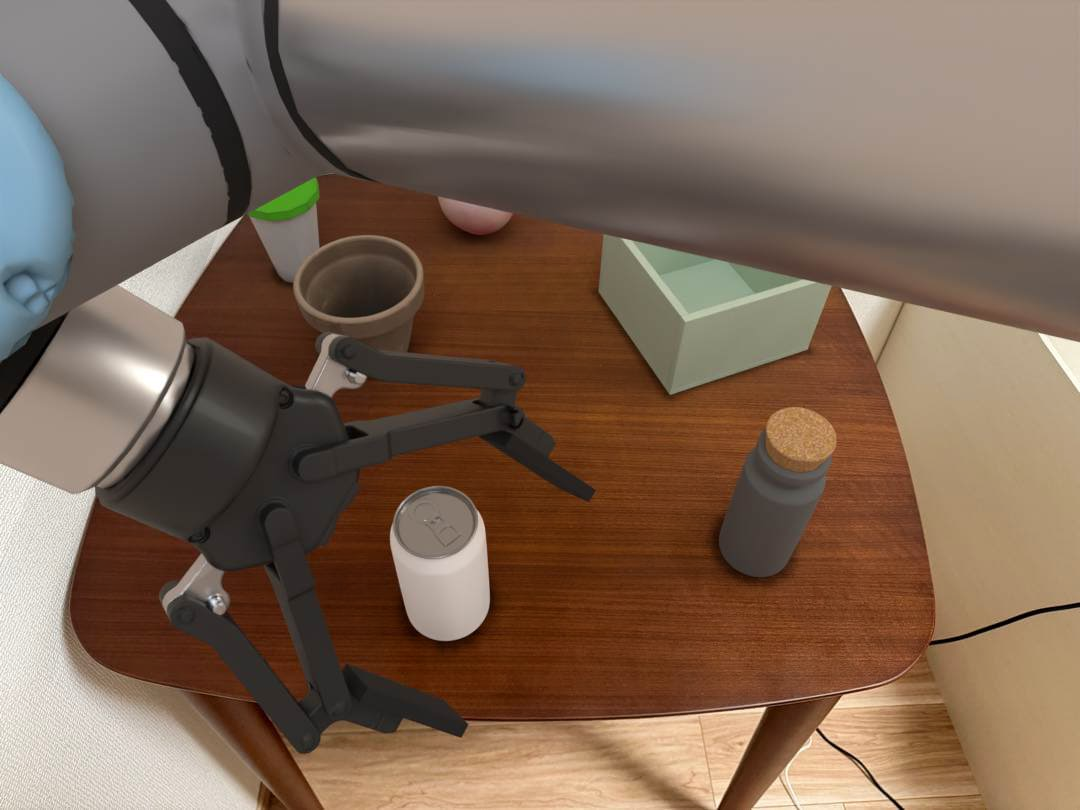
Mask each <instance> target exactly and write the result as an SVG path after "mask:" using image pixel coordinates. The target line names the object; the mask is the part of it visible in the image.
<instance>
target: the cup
mask: <svg viewBox="0 0 1080 810" xmlns="http://www.w3.org/2000/svg"><path fill="white" fill-rule="evenodd" d="M319 200H320V186H319V181H318V177H316V178H313V179H311V180H309V181H307V182H306V183H304V184H302V185H300V186H298V187H296V188H294V189H293V190H291V191H289V192H287V193H285V194H283V195H282V196H280V197H278V198H276V199H274V200H272V201H270V202H269V203H267V204H265V205H263V206H261V207H259V208H258V209H256V210H254V211H252V212H250V213H248V214H247V215H248V217H249V219H250V221H251V223H252V226H253V227H254V229H255V231H256V232H257V233H256V234H257V235H258V237H259V239H260V241H261V242H262V245H263V247H264V249H265V251H266V253H267V256H268V257H269V259H270V261H271V263H272V265H273V267H274V269H275V271H276V273H277V275H278V276H279V278H280V279H282V280H283V282H285V283H291V284H293V282H294V277H295V274H296V272H297V270H298V268H299V267H300V265H301V264H302V262H303V261H304V260H305V259H306V258H307V257H308V256H309V255H311V254H312V253H313V252H314V251H316V250H317V249H319V248H321V247H320V237H319V236H320V235H319V224H318V210H317V202H318V201H319Z"/></svg>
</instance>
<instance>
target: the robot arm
mask: <svg viewBox="0 0 1080 810" xmlns="http://www.w3.org/2000/svg"><path fill="white" fill-rule="evenodd" d="M332 174H333V175H337V176H341V177H346V178H350V179H354V180H359V181H367V182H373V183H376V184H377V183H378V184H382V185H387V186H390V187H394V188H400V189H404V190H408V191H413V192H417V193H421V194H425V195H431V196H434V197H437V198H438V197H443V198H447V199H452V200H456V201H460V202H465V203H469V204H474V205H478V206H482V207H487V208H491V209H496V210H500V211H504V212H509V213H513V215H518V216H522V217H526V218H532V219H536V220H540V221H544V222H548V223H553V224H557V225H562V226H566V227H571V228H575V229H580V230H584V231H589V232H593V233H598V234H601V235H604V234H606V235H610V236H614V237H619V238H623V239H628V240H632V241H636V242H641V243H645V244H650V245H654V246H658V247H663V248H667V249H671V250H676V251H680V252H685V253H689V254H693V255H698V256H702V257H707V258H711V259H715V260H720V261H724V262H729V263H733V264H737V265H742V266H746V267H751V268H755V269H759V270H764V271H768V272H773V273H777V274H781V275H786V276H790V277H795V278H799V279H803V280H808V281H812V282H817V283H821V284H825V285H830V286H831V287H834V288H839V289H843V290H848V291H851V292H857V293H861V294H865V295H870V296H874V297H879V298H883V299H887V300H892V301H896V302H900V303H904V304H909V305H913V306H917V307H923V308H927V309H932V310H935V311H941V312H944V313H949V314H953V315H957V316H962V317H967V318H971V319H975V320H980V321H984V322H988V323H993V324H996V325H1002V326H1006V327H1011V328H1015V329H1019V330H1023V331H1028V332H1033V333H1037V334H1042V335H1046V336H1049V337H1050V336H1051V337H1053V338H1054V337H1055V338H1057V339H1059V338H1060V339H1063V340H1068V341H1072V342H1077V343H1080V0H0V464H1V465H3V466H6V467H8V468H10V469H12V470H14V471H17V472H19V473H21V474H24V475H26V476H28V477H31V478H33V479H36V480H38V481H41V482H42V483H45V484H47V485H49V486H51V487H55V488H56V489H58V490H61V491H64V492H66V493H69V494H71V495H78V494H81V493H84V492H86V491H89V490H91V489H93V488H94V492H95V496H96V498H97V499H98V501H99V504H100V506H101V507H103V508H106V509H107V510H109V511H110V510H111V511H112V512H115V513H117V514H119V515H122V516H124V517H127V518H129V519H131V520H133V521H136V522H139V523H141V524H143V525H146V526H148V527H150V528H153V529H155V530H157V531H159V532H162V533H165V534H167V535H168V536H172V537H174V538H176V539H179V540H181V541H183V542H186V543H188V544H189V545H192V546H193V547H194V548H195V549H197V550H198V551H199V552H200V554H199V555H198V557H197V558H196V559H195V560H194V562H193V563H192V565H191V566H190V567H189V569H188V570H187V571H186V572H185V574H184V575H183V576H182V577H181V579H180V580H178V579H177V580H171V581H168V582H167V583H165V584H164V585H163V586H162V587H161V588H160V590H159V593H158V599H159V602H160V604H161V606H162V608H163V610H164V613H165V614H166V616H167V618H168V620H169V623H170V624H171V626H172V627H174V628H175V629H177V630H179V631H180V632H183V633H185V634H186V635H189V636H191V637H192V638H195V639H196V640H198V641H200V642H202V643H204V644H207V645H208V646H210V647H211V648H212V650H214V652H215V653H216V654H217V655H218V656H219V658H220V659H221V660H222V662H224V664H225V665H226V666H227V667H228V668H229V670H230V671H231V672H232V673H233V675H234V676H235V677H236V678H237V680H238V681H239V682H240V683H241V685H242V686H243V687H244V688H245V689H246V691H247V692H248V693H249V694H250V696H251V697H252V698H253V699H254V701H255V702H256V703H257V704H258V706H259V707H260V708H261V710H262V711H263V712H264V713H265V714H266V716H268V718H269V719H270V721H271V722H272V723H273V724H274V725H275V727H276V728H277V729H278V730H279V731H280V733H281V734H282V736H284V738H285V739H286V740H287V742H288V743H290V745H291V746H292V747H293V748H294V750H295V751H296V752H297V753H298V754H300V755H306V754H310V753H312V752H314V751H315V750H316V749H317V748H318V746H319V745H320V742H321V741H322V740H321V739H322V736H321V735H322V734H323V733H324V732H325V731H326V730H327V729H328V728H329V727H330V726H331V725H332V724H334V723H337V722H341V721H343V722H348V723H351V724H354V725H358V726H360V727H363V728H367V729H370V730H372V731H377V732H379V733H382V734H394V733H396V732H397V730H398V728H399V726H400V725H401V723H402V721H403V719H405V720H408V721H412V722H414V723H416V724H420V725H422V726H425V727H428V728H431V729H433V730H436V731H440V732H443V733H445V734H448V735H452V736H454V737H457V738H460V739H462V738H463V736H464V735H465V732H466V731H467V729H468V727H469V723H468V722H467V721H466V720H465V719H464V718H463V717H462V716H461V715H460V714H459V713H458V712H457V711H456V710H455V709H454V708H453V707H452V706H451V705H450V704H449V703H448V702H447V701H445V699H443V698H440V697H438V696H435V695H432V694H430V693H427V692H424V691H421V690H420V689H417V688H413V687H411V686H408V685H406V684H403V683H401V682H398V681H395V680H392V679H390V678H387V677H384V676H382V675H380V674H376V673H374V672H372V671H368V670H366V669H364V668H360V667H358V666H355V665H353V664H350V663H348V662H346V663H345V665H344V667H343V668H342V667H341V664H340V661H339V658H338V655H337V652H336V649H335V646H334V643H333V640H332V637H331V634H330V632H329V629H328V625H327V623H326V620H325V616H324V614H323V611H322V608H321V605H320V601H319V599H318V596H317V593H316V590H315V588H316V583H315V579H314V576H313V573H312V571H311V567H310V564H309V561H308V558H307V555H310V554H312V553H313V552H315V551H316V550H318V548H320V547H324V548H326V546H327V545H328V543H329V541H330V540H331V539H332V537H333V535H334V533H335V531H336V527H337V525H338V521H339V517H340V515H341V513H343V512H344V511H345V509H346V508H347V507H348V506H349V505H350V504H351V503H352V502H354V500H355V498H356V496H357V494H358V493H359V491H360V489H361V488H362V487H363V486H362V485H361V484H360V483H359V481H360V475H361V469H363V468H367V467H372V466H375V465H380V464H385V463H387V462H389V461H391V460H392V458H394V457H398V456H402V455H405V454H411V453H413V452H418V451H423V450H426V449H430V448H431V449H432V448H434V447H439V446H443V445H447V444H450V443H451V444H452V443H455V442H460V441H463V440H468V439H472V438H476V437H478V438H480V439H481V440H483V442H486V443H487V444H488V445H490V446H492V447H493V448H495V449H497V450H498V451H499V452H502V453H503V454H504V455H506V456H507V457H508V458H511V459H512V460H514V461H515V462H516V463H518V464H520V465H521V466H523V467H525V468H526V469H528V470H529V471H531V472H532V473H534V474H535V475H537V476H539V478H541V479H543V480H545V481H546V482H548V483H549V484H551V485H552V486H554V487H555V488H557V489H558V490H560V491H562V492H565V493H567V494H569V495H572V496H573V497H576V498H578V499H581V500H583V501H585V502H587V503H590V502H591V500H592V499H593V496H594V495H595V493H596V491H597V490H596V489H595V488H594V487H592V486H590V485H589V484H588V483H586V482H585V481H584V480H582V479H580V478H579V477H577V476H576V475H575V474H574V473H572V472H570V471H569V470H567V469H566V468H564V467H562V466H561V465H560V464H558V462H557V463H556V462H555V461H554V460H552V459H551V458H549V457H550V455H551V453H552V452H553V450H554V447H555V446H556V444H557V443H556V441H555V438H554V437H553V436H552V434H550V433H549V432H548V431H546V430H545V429H543V428H542V427H540V426H539V425H537V423H534V422H533V421H532V420H530V418H527V417H526V413H525V411H524V410H523V409H522V408H520V407H518V406H517V403H516V402H517V401H516V400H517V394H518V392H519V391H520V390H521V389H523V387H524V386H525V384H526V381H527V374H526V372H525V370H524V369H523V368H522V367H520V366H517V365H513V364H508V363H505V362H500V361H496V360H493V359H482V358H470V357H460V356H448V355H439V354H427V353H417V352H408V351H407V352H396V351H385V350H376V349H374V348H372V347H370V346H368V345H366V344H364V343H362V342H360V341H358V340H356V339H354V338H350V337H347V336H343V335H340V334H336V333H332V332H324V333H321V334H319V336H318V337H317V338H316V340H315V346H314V347H315V351H316V352H317V354H318V355H319V356H318V358H317V360H316V362H315V364H314V365H313V367H312V369H311V372H310V374H309V376H308V379H307V380H306V383H305V385H292V384H288V383H286V382H284V381H283V380H280V379H279V378H277V377H276V376H274V375H272V374H270V373H269V372H267V371H265V370H264V369H262V368H260V367H258V366H257V365H255V364H254V363H252V362H250V361H248V360H246V359H245V358H243V357H241V356H240V355H238V354H236V353H234V352H233V351H231V350H230V349H228V348H226V347H224V346H222V345H221V344H220V343H218V342H216V341H214V340H213V339H211V338H209V337H205V336H203V337H194V338H190V339H186V336H187V335H186V331H185V326H184V324H183V322H182V321H180V320H178V319H177V318H175V317H174V316H172V315H170V314H168V313H166V312H165V311H163V310H161V309H159V308H158V307H156V306H154V305H153V304H151V303H149V302H148V301H146V300H144V299H143V298H141V297H139V296H137V295H136V294H134V293H133V292H131V291H129V290H128V289H126V288H124V287H123V286H122V285H121V286H120V284H122V283H124V282H125V281H127V280H129V279H131V278H132V277H135V276H136V275H138V274H140V273H141V272H144V271H146V270H147V269H149V268H151V267H152V266H154V265H156V264H158V263H159V262H162V261H163V260H165V259H167V258H168V257H170V256H172V255H174V254H176V253H178V252H179V251H181V250H183V249H185V248H186V247H188V246H190V245H192V244H194V243H196V242H198V241H199V240H201V239H203V238H205V237H206V236H208V235H210V234H212V233H214V232H216V231H219V230H220V229H222V228H224V227H226V226H227V225H229V224H231V223H233V222H235V221H237V220H239V219H241V218H243V217H245V216H246V215H248V213H250V212H252V211H254V210H256V209H258V208H259V207H261V206H263V205H265V204H267V203H269V202H270V201H272V200H274V199H276V198H278V197H280V196H282V195H283V194H285V193H287V192H289V191H291V190H293V189H294V188H296V187H298V186H300V185H302V184H304V183H306V182H307V181H309V180H311V179H313V178H318V177H323V176H325V175H332ZM368 378H370V379H374V380H377V381H381V382H383V383H392V384H404V385H417V386H419V385H420V386H434V387H447V388H448V387H449V388H463V389H475V390H478V389H479V390H480V393H479V397H474V398H470V399H465V400H461V401H456V402H451V403H447V404H442V405H437V406H432V407H428V408H422V409H418V410H413V411H409V412H404V413H398V414H395V415H390V416H385V417H381V418H376V419H370V420H353V421H348V422H344V421H343V419H342V416H341V414H340V411H339V408H338V406H337V404H336V402H335V401H334V399H333V397H334V395H335V394H336V393H337V392H338V391H340V390H342V389H349V390H350V389H351V390H356V389H359V388H361V387H362V386H363V385H364V384H365V382H366V381H367V379H368ZM257 567H263V568H264V570H265V573H266V575H267V578H268V579H269V580H270V584H271V585H272V588H273V591H274V594H275V596H276V599H277V601H278V605H279V607H280V610H281V613H282V616H283V619H284V621H285V625H286V628H287V630H288V632H289V636H290V639H291V640H292V641H291V642H292V644H293V647H294V650H295V653H296V655H297V659H298V662H299V663H300V666H301V669H302V672H303V675H304V678H305V680H306V683H305V684H304V685H305V687H306V688H307V690H309V691H308V692H307V693H306V694H305V695H304V696H303V697H302V698H301V699H300V700H299V701H298V700H297V699H296V698H295V696H294V695H293V693H292V692H291V691H290V690H289V689H288V687H287V686H286V685H285V684H284V682H283V681H282V679H281V678H280V677H279V675H277V673H276V672H275V670H274V669H273V667H271V665H270V664H269V663H268V661H267V660H266V659H265V658H264V656H263V655H262V654H261V653H260V650H258V649H257V647H256V646H255V645H254V644H253V642H252V641H251V639H249V637H248V635H246V633H245V632H244V630H243V629H242V628H241V626H240V625H239V624H238V623H237V622H236V621H235V619H234V618H233V617H232V616H231V614H230V613H229V612H228V608H229V607H230V604H231V597H230V594H229V593H228V591H227V590H226V589H225V587H224V586H223V582H222V580H223V577H224V575H225V573H232V572H234V573H235V572H239V571H243V570H247V569H252V568H257Z"/></svg>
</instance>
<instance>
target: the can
mask: <svg viewBox="0 0 1080 810" xmlns="http://www.w3.org/2000/svg"><path fill="white" fill-rule="evenodd" d="M389 542H390V543H389V545H390V550H391V551H390V552H391V554H392V560H393V563H394V567H395V572H396V576H397V579H398V584H399V589H400V593H401V596H402V600H403V604H404V607H405V608H404V609H405V612H406V614H407V615H406V616H407V617H408V620H409V623H411V625H412V627H414V629H415V630H416V631H417V632H419V634H421V635H422V636H424V637H427V638H428V639H432V640H435V641H440V642H450V641H456V640H460V639H463V638H465V637H467V636H469V635H471V634H473V632H475V631H476V630H477V629H479V627H480V626H481V625H482V624H483V622H484V621H485V619H486V617H487V616H488V613H489V609H490V603H491V594H490V593H491V591H490V578H489V577H490V575H489V573H490V572H489V562H488V561H489V560H488V546H487V545H488V544H487V534H486V527H485V523H484V519H483V517H482V515H481V513H480V512H479V510H478V508H476V506H475V503H474V501H472V499H471V498H470V497H469V496H468V495H467V494H465V493H464V492H463V491H461V490H459V489H456V488H454V487H451V486H447V485H446V486H445V485H431V486H426V487H423V488H420V489H418V490H415V491H414V492H412V493H411V494H409V495H407V496H406V497H405V498H404V499H403V500H402V501H401V502H400V503H399V505H398V507H397V509H396V510H395V512H394V516H393V520H392V524H391V527H390V532H389Z"/></svg>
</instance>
